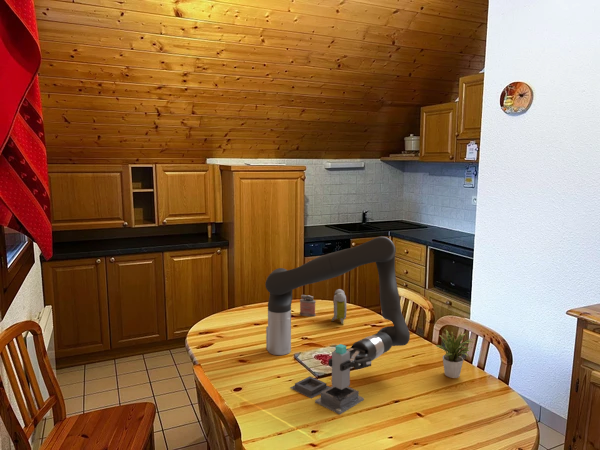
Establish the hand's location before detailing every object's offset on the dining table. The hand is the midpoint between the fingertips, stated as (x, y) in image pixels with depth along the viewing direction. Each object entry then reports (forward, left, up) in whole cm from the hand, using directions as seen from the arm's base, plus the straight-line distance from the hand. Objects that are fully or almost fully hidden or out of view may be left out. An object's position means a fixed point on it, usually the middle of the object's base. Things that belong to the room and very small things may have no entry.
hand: (335, 365), depth 143 cm
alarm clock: (-48, +60, -13) cm, 77 cm away
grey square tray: (-13, +3, -13) cm, 18 cm away
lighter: (-65, +57, -13) cm, 87 cm away
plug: (0, +3, -7) cm, 8 cm away
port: (0, +3, -13) cm, 13 cm away
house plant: (+17, +45, -13) cm, 50 cm away
